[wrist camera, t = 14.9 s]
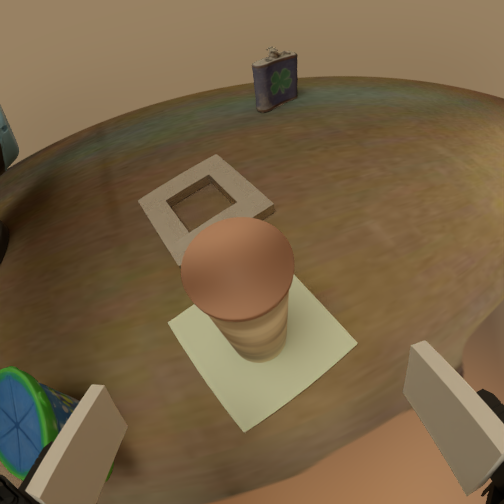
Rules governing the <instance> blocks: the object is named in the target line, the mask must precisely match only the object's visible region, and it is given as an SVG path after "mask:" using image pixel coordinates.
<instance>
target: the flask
mask: <svg viewBox="0 0 504 504" xmlns="http://www.w3.org/2000/svg"><path fill="white" fill-rule="evenodd" d="M271 48H272V49H271ZM268 49H270V52H269V54H268V55H269V57H266V58H264V59H261V60H259V61H256V62H254V63H253V64H252V69H253V77H254V88H255V95H256V108H257V110H258V112H262V113H264V112H269V111H272V109H274V108H277V107H279V106H281V105H283V104H284V103H285V102H286V103H287V102H288V101H291V100H293V99H296V98H297V80H298V79H297V54H296V53H294V52H290V51H288V52H287V51H283V52H280V53H278V52H277V51H278V50H276V48H273V47H269V48H268ZM268 49H266V50H268Z"/></svg>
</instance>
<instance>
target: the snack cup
mask: <svg viewBox="0 0 504 504" xmlns="http://www.w3.org/2000/svg"><path fill="white" fill-rule="evenodd" d="M79 402H80V401H78V400H77V399H75V398H72V397H70V396H68V395H66V394H63V393H61V392H59V391H57V390H55V389H52V388H50V387H48V386H46V385H43V384H41V383H38V381H37V380H36V379H35V378H33V377H32V376H31V375H29V374H28V373H26V372H24V371H22V370H19V369H18V368H17V367H13V366H9V367H7V368H3V369H1V370H0V461H1V462H2V464H3V465H4V466H5V467H6V468H7V470H8V471H9V472H10V473H12V474H13V475H14V476H16V477H17V478H19V479H21V480H22V481H23V480H24V479H25V477H26V475H27V474H28V472H29V470H30V469H31V467H32V465H33V464H34V462H35V460H36V459H37V458H38V455H39V454H40V452H41V451H42V449H43V448H44V447H45V446H46V445H47V444H48V443H50V442H51V441H53V442H54V441H55V439H56V438H57V436H58V434H59V433H60V431H61V430H62V428H63V427H64V425H65V424H66V422H67V420H68V419H69V417H70V416H71V414H72V413H73V411H74V410H75V408H76V407H77V405H78V404H79ZM113 466H114V461H113V463H112V466H111V468H110V470H109V473H108V475H107V478H106V480H105V482H106V481H107V480H108V479H109V477H110V475H111V473H112V469H113Z"/></svg>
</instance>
